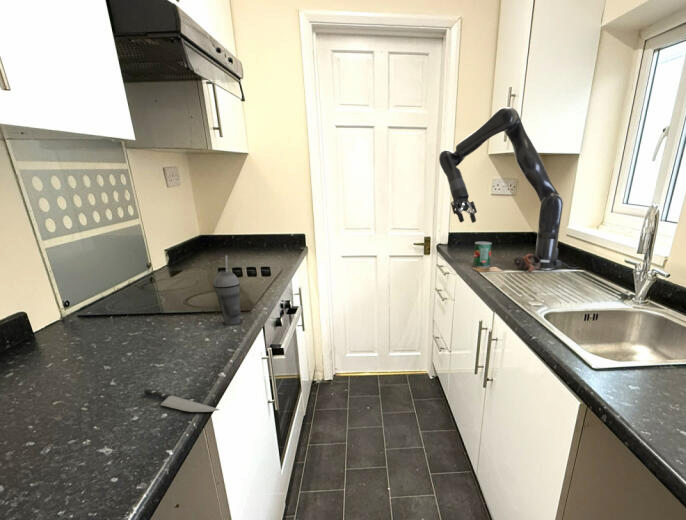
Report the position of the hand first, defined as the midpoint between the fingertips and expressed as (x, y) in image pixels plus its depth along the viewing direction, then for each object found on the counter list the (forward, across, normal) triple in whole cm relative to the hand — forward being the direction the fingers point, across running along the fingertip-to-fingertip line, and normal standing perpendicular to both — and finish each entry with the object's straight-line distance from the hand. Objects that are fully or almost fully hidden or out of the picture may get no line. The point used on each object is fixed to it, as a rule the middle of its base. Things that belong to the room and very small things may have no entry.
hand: (468, 221), depth 196 cm
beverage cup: (+33, -117, +3) cm, 122 cm away
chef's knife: (+56, -142, -32) cm, 156 cm away
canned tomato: (+22, +4, +3) cm, 22 cm away
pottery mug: (+31, +12, -14) cm, 36 cm away
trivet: (+25, 0, -3) cm, 25 cm away
